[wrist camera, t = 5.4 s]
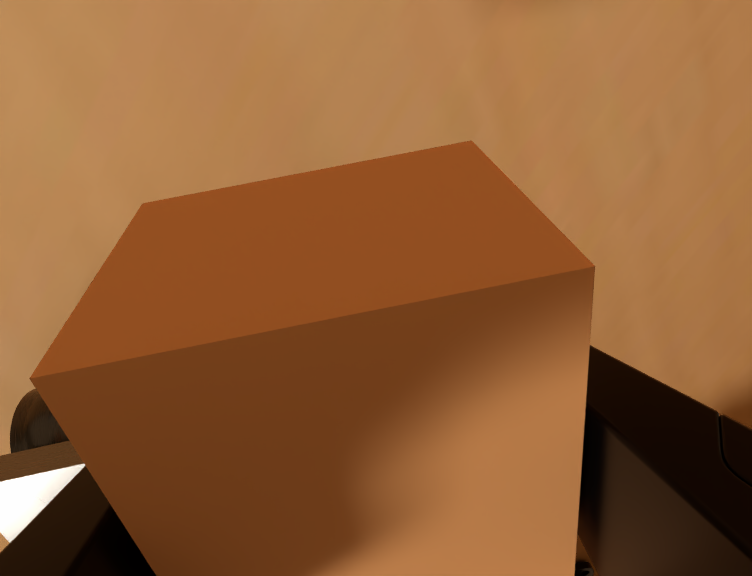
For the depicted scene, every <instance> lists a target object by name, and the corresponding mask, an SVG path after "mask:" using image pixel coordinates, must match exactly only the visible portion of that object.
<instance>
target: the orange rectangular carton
mask: <svg viewBox="0 0 752 576" xmlns="http://www.w3.org/2000/svg"><path fill="white" fill-rule="evenodd" d="M594 274H595V266H594V265H593V264H592V263H591V262H590V261H589V260H588V259H587V258H586V257H585V256H584V255H583V254H582V253H581V252H580V251H579V249H578V248H577V247H576V246H575V245H574V244H573V243H572V242H571V241H570V240H569V239H568V238H567V237H566V236H565V235H564V234H563V233H562V232H561V231H560V230H559V229H558V228H557V227H556V226H555V225H554V224H553V223H552V222H551V221H550V220H549V219H548V218H547V217H546V216H545V215H544V214H543V213H542V212H541V211H540V210H539V209H538V208H537V207H536V206H535V205H534V204H533V203H532V202H531V201H530V200H529V199H528V198H527V197H526V195H525V194H524V193H523V192H522V191H521V190H520V189H519V188H518V187H517V186H516V185H515V184H514V183H513V182H512V181H511V180H510V179H509V178H508V177H507V176H506V175H505V174H504V173H503V172H502V171H501V170H500V169H499V168H498V167H497V166H496V165H495V164H494V163H493V162H492V161H491V160H490V159H489V158H488V157H487V156H486V155H485V154H484V153H483V152H482V151H481V150H480V149H479V148H478V147H477V146H476V145H475V144H474V143H473V142H472V141H467V142H461V143H456V144H451V145H446V146H441V147H435V148H430V149H425V150H420V151H414V152H409V153H404V154H399V155H394V156H388V157H383V158H378V159H373V160H367V161H362V162H357V163H352V164H346V165H341V166H336V167H331V168H326V169H320V170H315V171H310V172H305V173H299V174H294V175H289V176H284V177H279V178H273V179H268V180H263V181H258V182H252V183H247V184H242V185H237V186H232V187H226V188H221V189H216V190H211V191H205V192H200V193H195V194H190V195H184V196H179V197H174V198H169V199H164V200H158V201H153V202H148V203H143V204H142V205H141V207H140V208H139V210H138V211H137V213H136V215H135V216H134V218H133V219H132V221H131V222H130V224H129V225H128V227H127V228H126V230H125V232H124V233H123V235H122V236H121V238H120V239H119V241H118V242H117V244H116V246H115V247H114V249H113V250H112V252H111V253H110V255H109V256H108V258H107V259H106V261H105V263H104V264H103V266H102V267H101V269H100V270H99V272H98V273H97V275H96V276H95V278H94V280H93V281H92V283H91V284H90V286H89V287H88V289H87V290H86V292H85V294H84V295H83V297H82V298H81V300H80V301H79V303H78V304H77V306H76V307H75V309H74V311H73V312H72V314H71V315H70V317H69V318H68V320H67V321H66V323H65V324H64V326H63V328H62V329H61V331H60V332H59V334H58V335H57V337H56V338H55V340H54V341H53V343H52V345H51V346H50V348H49V349H48V351H47V352H46V354H45V355H44V357H43V359H42V360H41V362H40V363H39V365H38V366H37V368H36V369H35V371H34V372H33V374H32V376H31V377H30V380H31V382H32V383H33V385H34V386H35V388H36V389H37V391H38V392H39V394H40V396H41V397H42V399H43V400H44V402H45V403H46V405H47V406H48V408H49V410H50V411H51V413H52V414H53V416H54V417H55V419H56V420H57V422H58V424H59V425H60V427H61V428H62V430H63V431H64V433H65V434H66V436H67V438H68V439H69V441H70V442H71V444H72V445H73V447H74V448H75V450H76V452H77V453H78V455H79V456H80V458H81V459H82V461H83V462H84V464H85V466H86V467H87V469H88V470H89V472H90V473H91V475H92V476H93V478H94V480H95V481H96V483H97V484H98V486H99V487H100V489H101V490H102V492H103V494H104V495H105V497H106V498H107V500H108V501H109V503H110V504H111V506H112V508H113V509H114V511H115V512H116V514H117V515H118V517H119V518H120V520H121V522H122V523H123V525H124V526H125V528H126V529H127V531H128V532H129V534H130V536H131V537H132V539H133V540H134V542H135V543H136V545H137V546H138V548H139V550H140V551H141V553H142V554H143V556H144V557H145V559H146V560H147V562H148V564H149V565H150V567H151V568H152V570H153V571H154V573H155V574H156V576H574V573H575V558H576V543H577V528H578V513H579V498H580V484H581V469H582V454H583V439H584V424H585V409H586V394H587V379H588V364H589V349H590V334H591V319H592V304H593V289H594Z"/></svg>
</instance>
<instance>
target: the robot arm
mask: <svg viewBox="0 0 752 576" xmlns="http://www.w3.org/2000/svg"><path fill="white" fill-rule="evenodd" d="M577 534H578V536H579V538H580V540H581V541H582V543H583V545H584V547H585V549H586V551H587V553H588V555H589V557H590V559H591V561H592V563H593V565H594V566H595V568H596V570H597V572H598V574H599V576H752V429H751V428H749V427H747V426H745V425H743V424H741V423H739V422H737V421H735V420H733V419H732V418H730V417H728V416H726V415H720V416H719V413H718V412H717V411H716V410H714V409H712V408H710V407H708V406H706V405H704V404H702V403H700V402H698V401H696V400H695V399H693V398H691V397H689V396H687V395H685V394H683V393H681V392H679V391H677V390H675V389H673V388H671V387H670V386H668V385H666V384H664V383H662V382H660V381H658V380H656V379H654V378H652V377H650V376H648V375H646V374H645V373H643V372H641V371H639V370H637V369H635V368H633V367H631V366H629V365H627V364H625V363H623V362H621V361H620V360H618V359H616V358H614V357H612V356H610V355H608V354H606V353H604V352H602V351H600V350H598V349H596V348H595V347H593V346H591V345H590V349H589V364H588V379H587V394H586V409H585V424H584V439H583V454H582V469H581V484H580V498H579V513H578V528H577ZM593 573H594V571H593V568H592V566H591V564H590V563H589V562H580V563H575V573H574V576H593ZM0 576H156V574H155V573H154V571H153V570H152V568H151V567H150V565H149V564H148V562H147V560H146V559H145V557H144V556H143V554H142V553H141V551H140V550H139V548H138V546H137V545H136V543H135V542H134V540H133V539H132V537H131V536H130V534H129V532H128V531H127V529H126V528H125V526H124V525H123V523H122V522H121V520H120V518H119V517H118V515H117V514H116V512H115V511H114V509H113V508H112V506H111V504H110V503H109V501H108V500H107V498H106V497H105V495H104V494H103V492H102V490H101V489H100V487H99V486H98V484H97V483H96V481H95V480H94V478H93V476H92V475H91V473H90V472H89V470H88V469H87V467H86V466H84V467H83V468H82V470H81V471H80V472H79V473H78V474H77V475H76V476H75V477H74V478H73V479H72V480H71V481H70V482H69V483H68V484H67V485H66V486H65V487H64V488H63V489H62V490H61V491H60V492H59V493H58V494H57V495H56V496H55V497H54V498H53V499H52V500H51V501H50V502H49V503H48V504H47V505H46V506H45V507H44V509H43V510H42V511H41V512H40V513H39V514H38V515H37V516H36V517H35V518H34V519H33V520H32V521H31V522H30V523H29V524H28V525H27V526H26V527H25V528H24V529H23V530H22V531H21V532H20V533H19V534H18V535H17V536H16V537H15V538H14V539H13V540H12V541H11V542H10V543H9V544H8V545H7V546H6V547H5V548H4V550H3V551H2V552H1V553H0Z"/></svg>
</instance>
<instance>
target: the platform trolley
mask: <svg viewBox="0 0 752 576" xmlns="http://www.w3.org/2000/svg"><path fill="white" fill-rule="evenodd" d="M10 448H11V454H6V455H2V456H0V532H1V534H2V535H3V536H4V537H5V538H6V539H7V540H8V541H9V542H11V541H12V540H13V539H14V538H15V537H16V536H17V535H18V534H19V533H20V532H21V531H22V530H23V529H24V528H25V527H26V526H27V525H28V524H29V523H30V522H31V521H32V520H33V519H34V518H35V517H36V516H37V515H38V514H39V513H40V512H41V511H42V510H43V509H44V507H45V506H46V505H47V504H48V503H49V502H50V501H51V500H52V499H53V498H54V497H55V496H56V495H57V494H58V493H59V492H60V491H61V490H62V489H63V488H64V487H65V486H66V485H67V484H68V483H69V482H70V481H71V480H72V479H73V478H74V477H75V476H76V475H77V474H78V473H79V472H80V471H81V470H82V468H83V467H84V466H85V464H84V462H83V461H82V459H81V458H80V456H79V455H78V453H77V452H76V450H75V448H74V447H73V445H72V444H71V442H70V441H69V439H68V438H67V436H66V434H65V433H64V431H63V430H62V428H61V427H60V425H59V424H58V422H57V420H56V419H55V417H54V416H53V414H52V413H51V411H50V410H49V408H48V406H47V405H46V403H45V402H44V400H43V399H42V397H41V396H40V394H39V392H38V391H37V389H34V390H31V391H30V392H28V393H27V394H26V395H25V396H24V397H23V398H22V399H21V401H20V402H19V404H18V406H17V408H16V410H15V413H14V416H13V419H12V424H11V431H10Z"/></svg>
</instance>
